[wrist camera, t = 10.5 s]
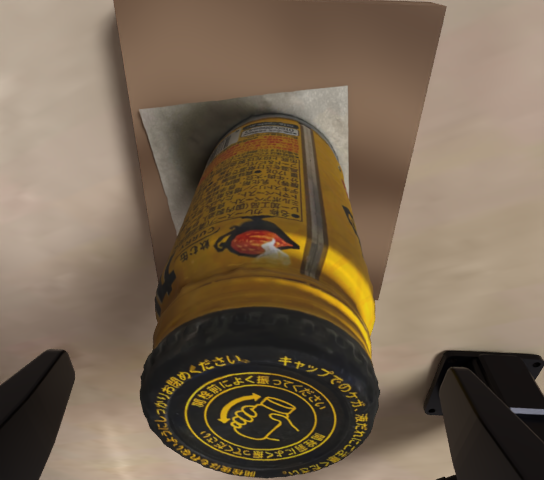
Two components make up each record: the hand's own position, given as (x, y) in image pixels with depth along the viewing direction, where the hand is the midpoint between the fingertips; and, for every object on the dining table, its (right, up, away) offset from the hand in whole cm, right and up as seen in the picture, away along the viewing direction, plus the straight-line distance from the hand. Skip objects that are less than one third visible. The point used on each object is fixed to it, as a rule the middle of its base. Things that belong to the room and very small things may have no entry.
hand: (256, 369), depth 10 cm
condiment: (0, +6, +9) cm, 11 cm away
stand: (0, +7, +11) cm, 13 cm away
